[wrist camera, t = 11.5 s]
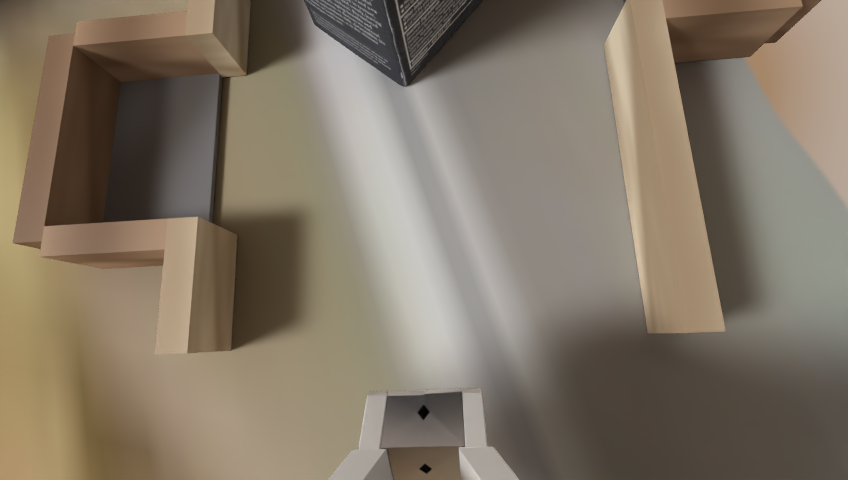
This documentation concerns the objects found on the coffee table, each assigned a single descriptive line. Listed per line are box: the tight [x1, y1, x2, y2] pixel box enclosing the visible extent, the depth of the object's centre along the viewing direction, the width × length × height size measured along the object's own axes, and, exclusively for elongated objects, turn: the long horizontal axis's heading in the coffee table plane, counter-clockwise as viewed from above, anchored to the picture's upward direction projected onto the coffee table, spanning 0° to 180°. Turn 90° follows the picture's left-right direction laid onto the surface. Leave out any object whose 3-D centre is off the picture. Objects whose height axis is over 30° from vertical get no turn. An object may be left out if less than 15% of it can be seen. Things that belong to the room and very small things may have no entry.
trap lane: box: [13, 0, 821, 354], centre depth 19 cm, size 32×25×3 cm
